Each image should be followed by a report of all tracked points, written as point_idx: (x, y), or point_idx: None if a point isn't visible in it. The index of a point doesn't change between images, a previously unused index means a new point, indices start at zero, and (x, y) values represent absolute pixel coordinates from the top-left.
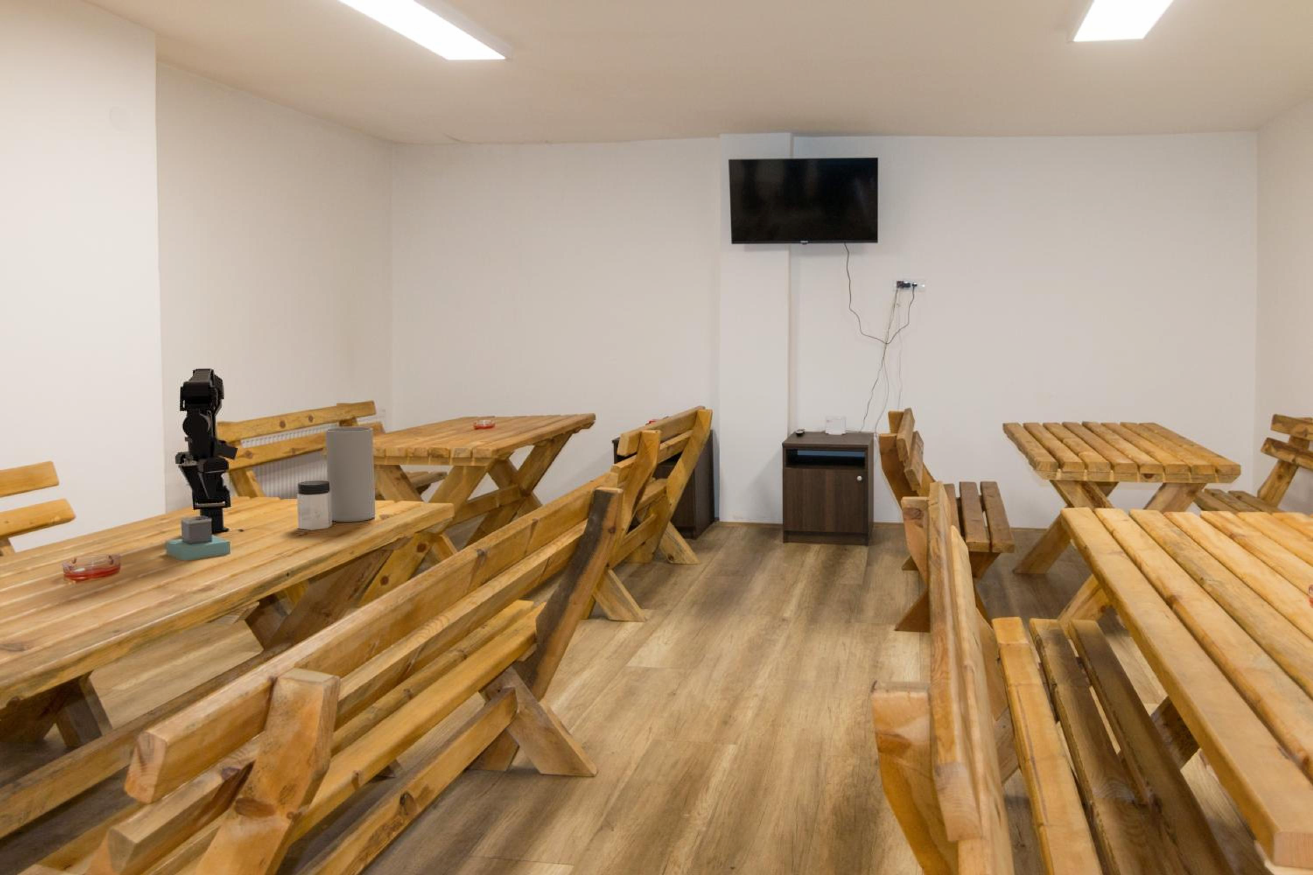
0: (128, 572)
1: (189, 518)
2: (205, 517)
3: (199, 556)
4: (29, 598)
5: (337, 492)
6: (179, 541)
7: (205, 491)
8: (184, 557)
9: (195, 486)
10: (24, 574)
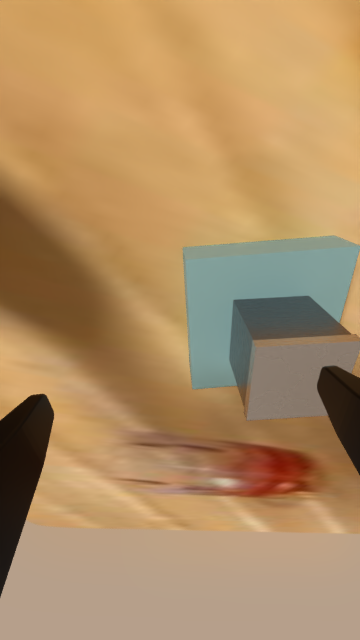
0: (313, 442)
1: (278, 400)
2: (315, 353)
3: None
4: (344, 524)
5: None
6: (225, 365)
7: (349, 451)
8: None
9: (28, 457)
10: (198, 522)
